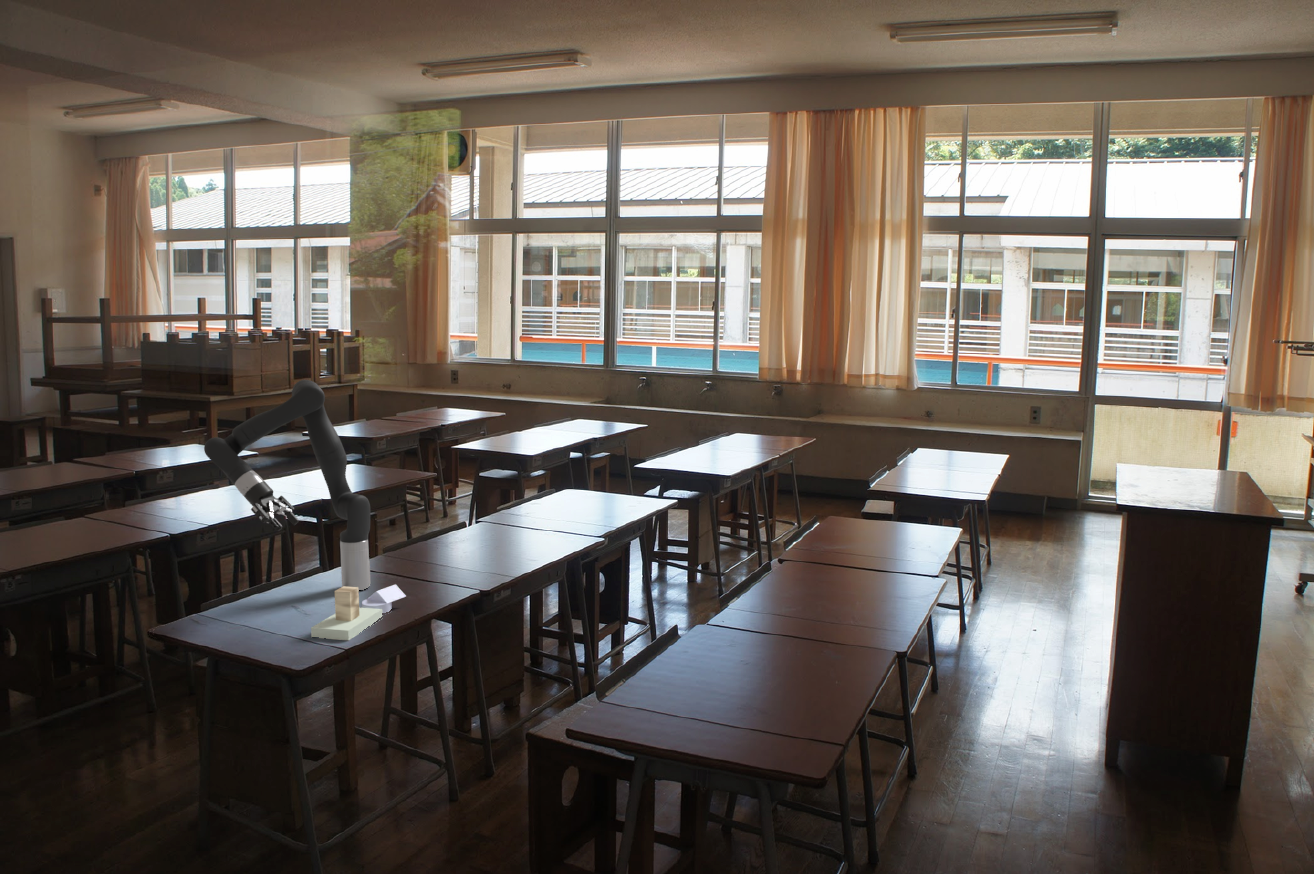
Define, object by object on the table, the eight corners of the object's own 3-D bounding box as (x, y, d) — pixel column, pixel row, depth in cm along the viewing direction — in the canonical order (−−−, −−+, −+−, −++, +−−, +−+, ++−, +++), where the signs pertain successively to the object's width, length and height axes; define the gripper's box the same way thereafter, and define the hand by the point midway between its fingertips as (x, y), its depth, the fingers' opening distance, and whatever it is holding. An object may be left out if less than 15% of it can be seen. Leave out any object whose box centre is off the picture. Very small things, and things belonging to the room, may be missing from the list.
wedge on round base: (386, 602, 300) (356, 613, 288) (385, 582, 299) (355, 592, 287) (406, 606, 296) (377, 617, 284) (406, 586, 295) (376, 596, 283)
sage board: (347, 615, 286) (347, 606, 285) (382, 618, 283) (382, 609, 283) (311, 637, 266) (311, 627, 266) (348, 640, 264) (348, 630, 263)
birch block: (344, 614, 277) (343, 586, 276) (359, 615, 276) (358, 587, 275) (335, 620, 273) (334, 591, 271) (350, 621, 272) (349, 592, 270)
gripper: (246, 484, 275) (282, 523, 275) (275, 476, 289) (309, 513, 288) (232, 500, 277) (267, 539, 276) (261, 492, 291) (294, 528, 290)
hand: (288, 526), depth 282 cm, fingers open, 8 cm apart
